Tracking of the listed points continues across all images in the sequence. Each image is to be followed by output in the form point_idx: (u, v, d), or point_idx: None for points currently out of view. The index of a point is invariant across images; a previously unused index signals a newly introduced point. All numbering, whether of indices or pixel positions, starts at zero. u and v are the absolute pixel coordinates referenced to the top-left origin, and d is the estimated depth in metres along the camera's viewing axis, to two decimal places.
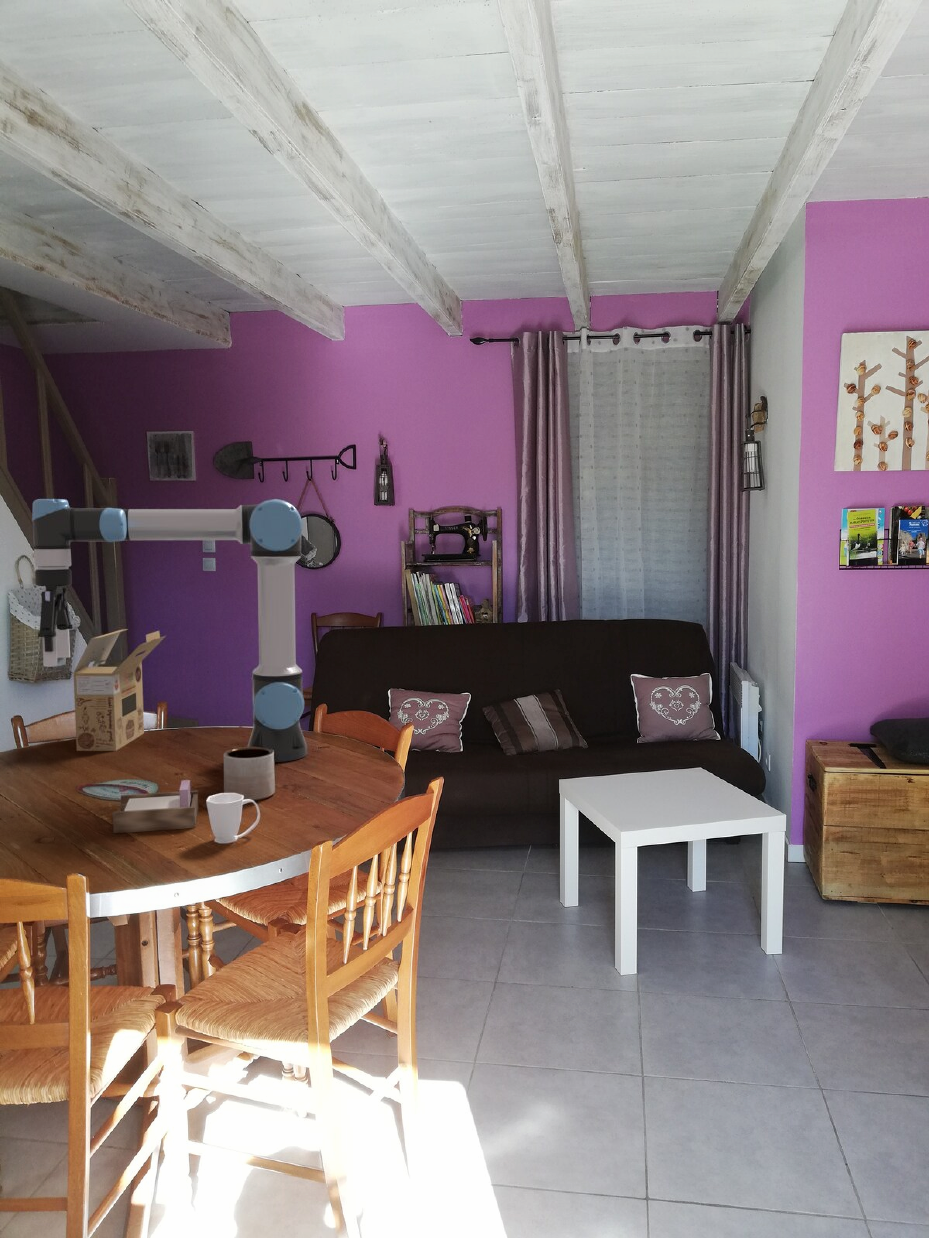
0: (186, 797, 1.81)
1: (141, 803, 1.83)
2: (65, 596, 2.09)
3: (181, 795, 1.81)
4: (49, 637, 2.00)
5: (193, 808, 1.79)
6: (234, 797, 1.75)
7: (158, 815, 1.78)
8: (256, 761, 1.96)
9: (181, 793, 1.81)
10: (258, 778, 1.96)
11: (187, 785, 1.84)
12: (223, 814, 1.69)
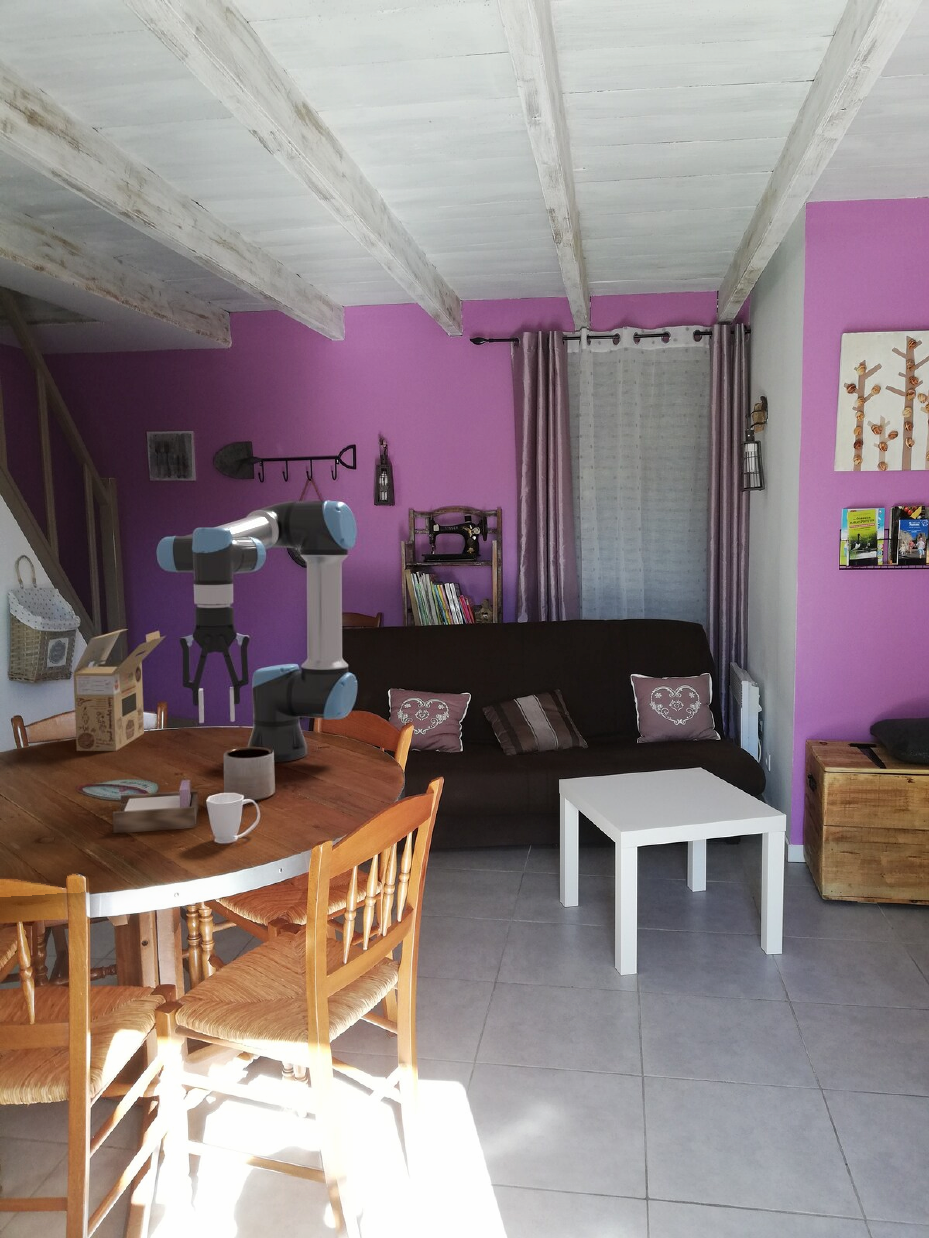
0: (186, 797, 1.81)
1: (141, 803, 1.83)
2: (224, 640, 1.81)
3: (181, 795, 1.81)
4: (192, 689, 1.82)
5: (193, 808, 1.79)
6: (234, 797, 1.75)
7: (158, 815, 1.78)
8: (256, 761, 1.96)
9: (181, 793, 1.81)
10: (258, 778, 1.96)
11: (187, 785, 1.84)
12: (223, 814, 1.69)
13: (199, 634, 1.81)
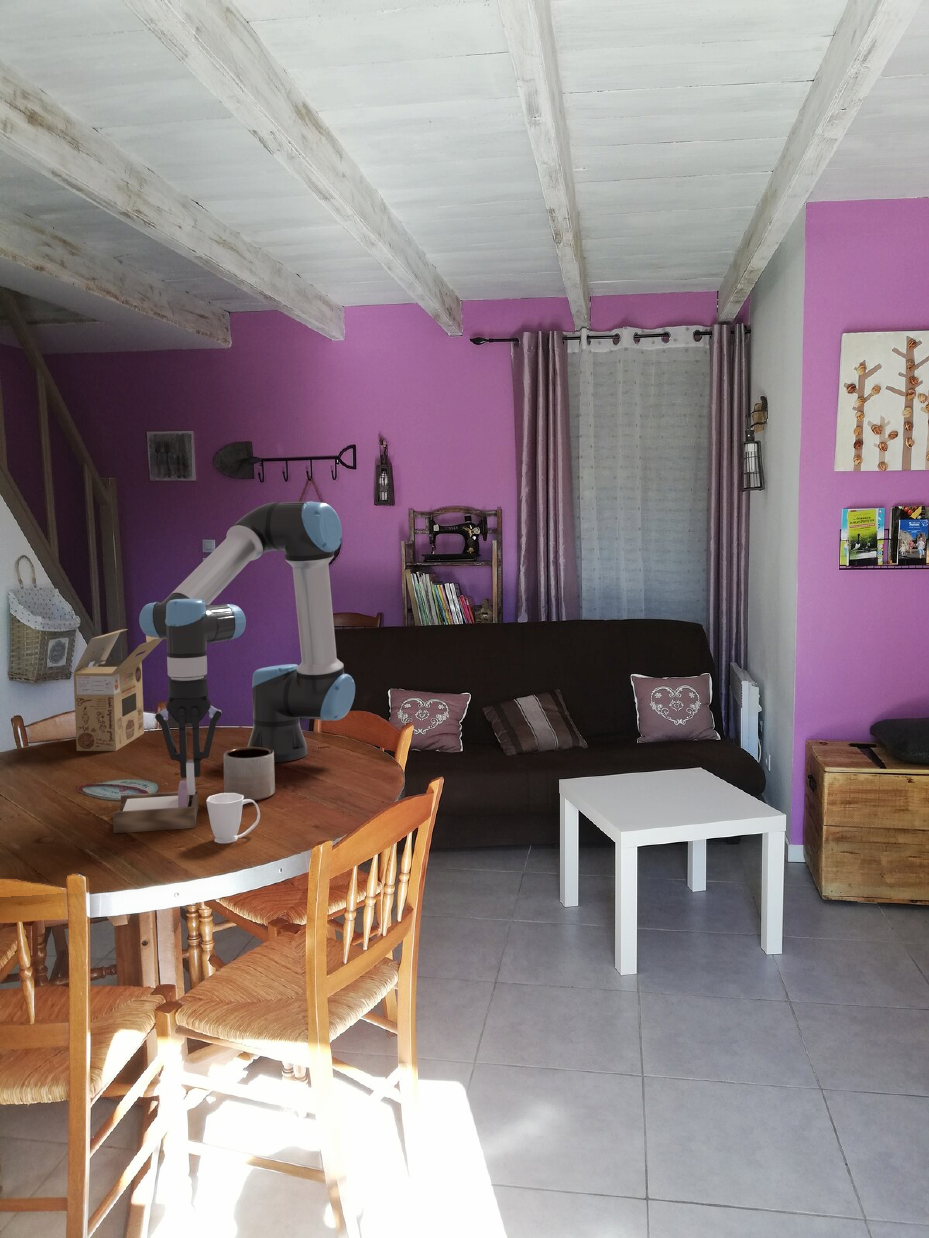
0: (184, 797, 1.81)
1: (139, 803, 1.83)
2: (197, 713, 1.81)
3: (179, 795, 1.81)
4: None
5: (193, 808, 1.79)
6: (234, 797, 1.75)
7: (158, 815, 1.78)
8: (256, 761, 1.96)
9: (179, 793, 1.81)
10: (258, 778, 1.96)
11: (185, 785, 1.84)
12: (223, 814, 1.69)
13: (172, 706, 1.81)
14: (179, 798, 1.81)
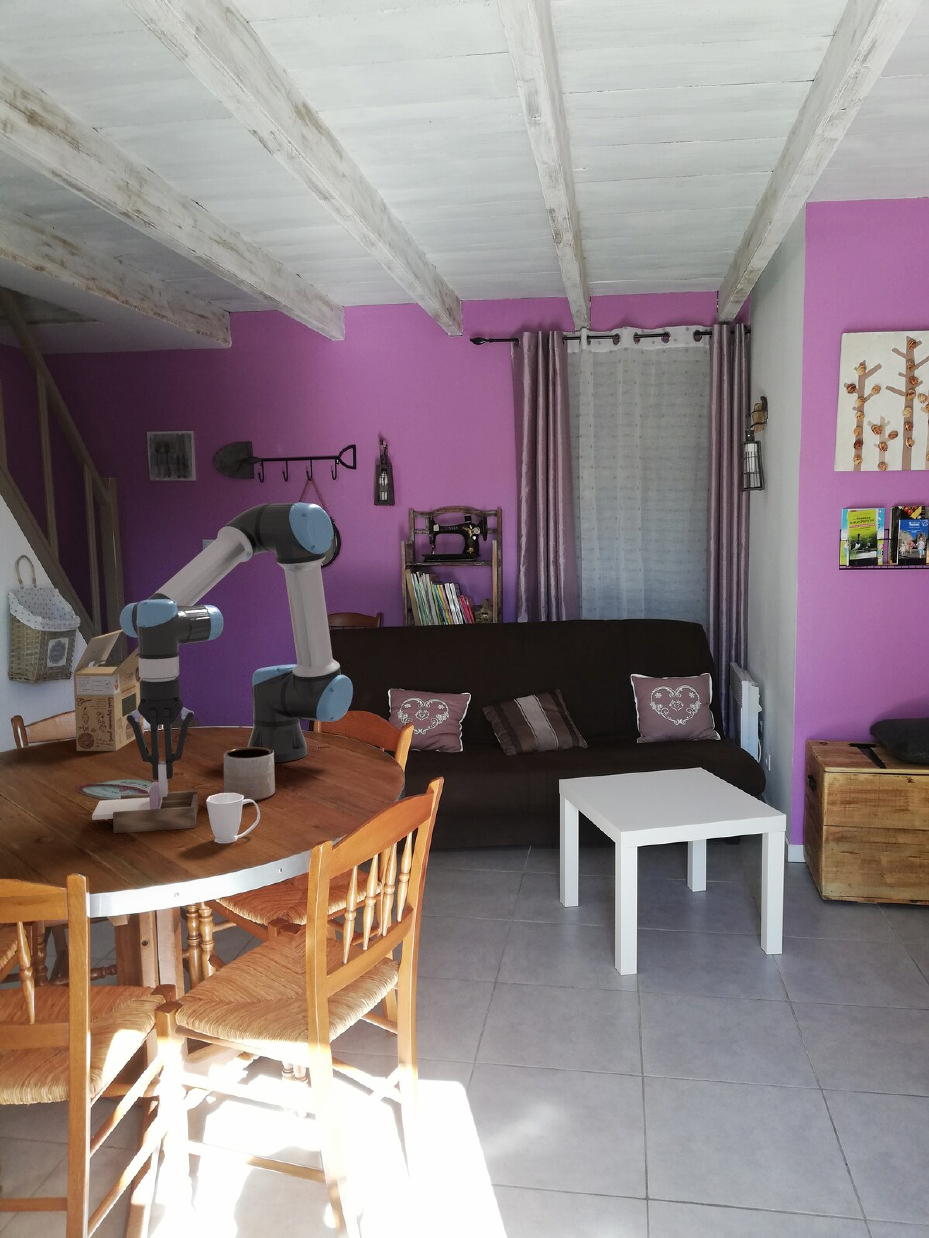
0: (156, 799, 1.80)
1: (111, 805, 1.82)
2: (169, 714, 1.80)
3: (151, 797, 1.79)
4: None
5: (193, 808, 1.79)
6: (234, 797, 1.75)
7: (158, 815, 1.78)
8: (256, 761, 1.96)
9: (151, 795, 1.79)
10: (258, 778, 1.96)
11: (158, 787, 1.82)
12: (223, 814, 1.69)
13: (144, 707, 1.80)
14: (151, 800, 1.79)
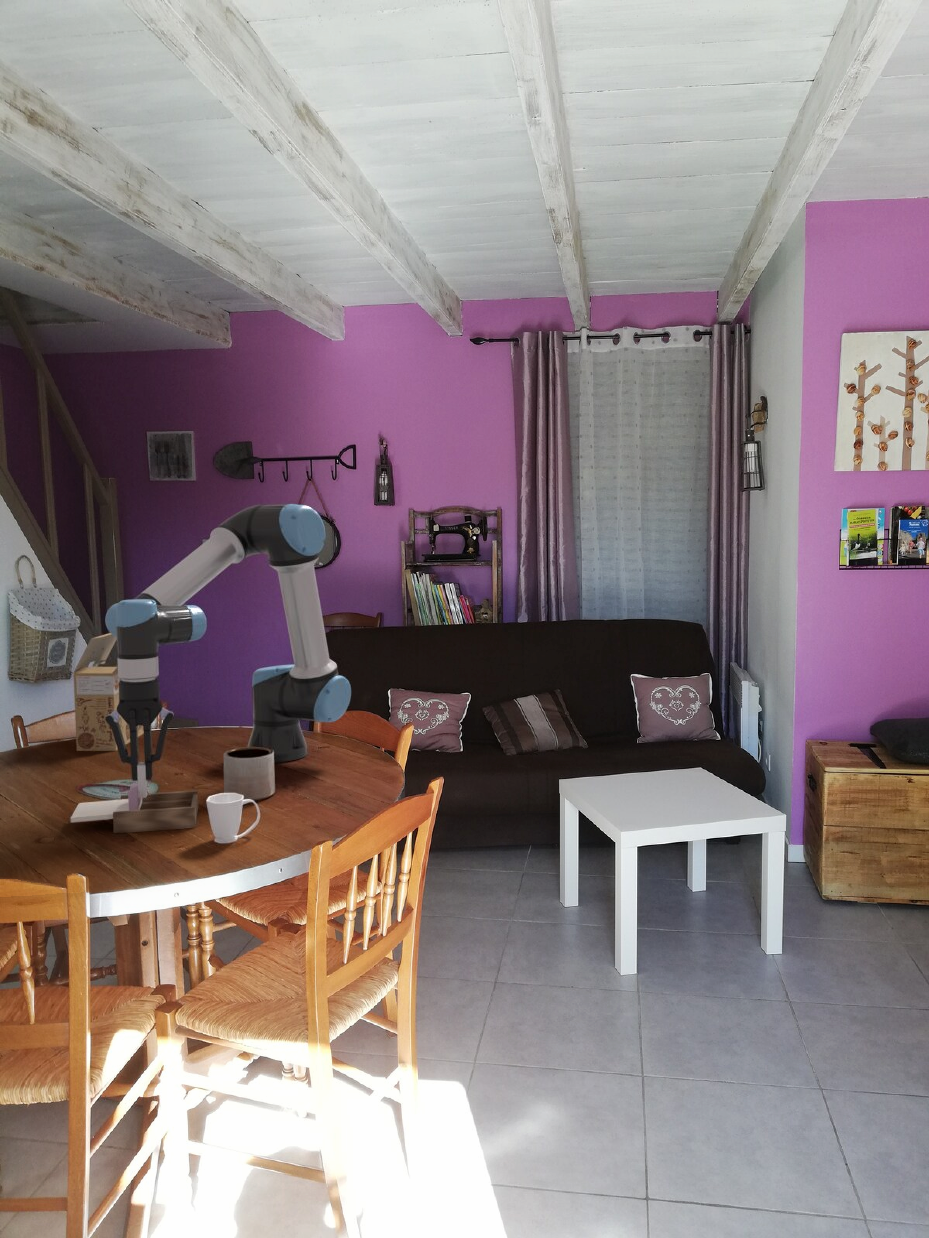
0: (135, 800, 1.79)
1: (90, 807, 1.81)
2: (148, 715, 1.79)
3: (130, 798, 1.78)
4: None
5: (193, 808, 1.79)
6: (234, 797, 1.75)
7: (158, 815, 1.78)
8: (256, 761, 1.96)
9: (130, 796, 1.78)
10: (258, 778, 1.96)
11: (136, 788, 1.81)
12: (223, 814, 1.69)
13: (123, 708, 1.79)
14: (129, 801, 1.78)
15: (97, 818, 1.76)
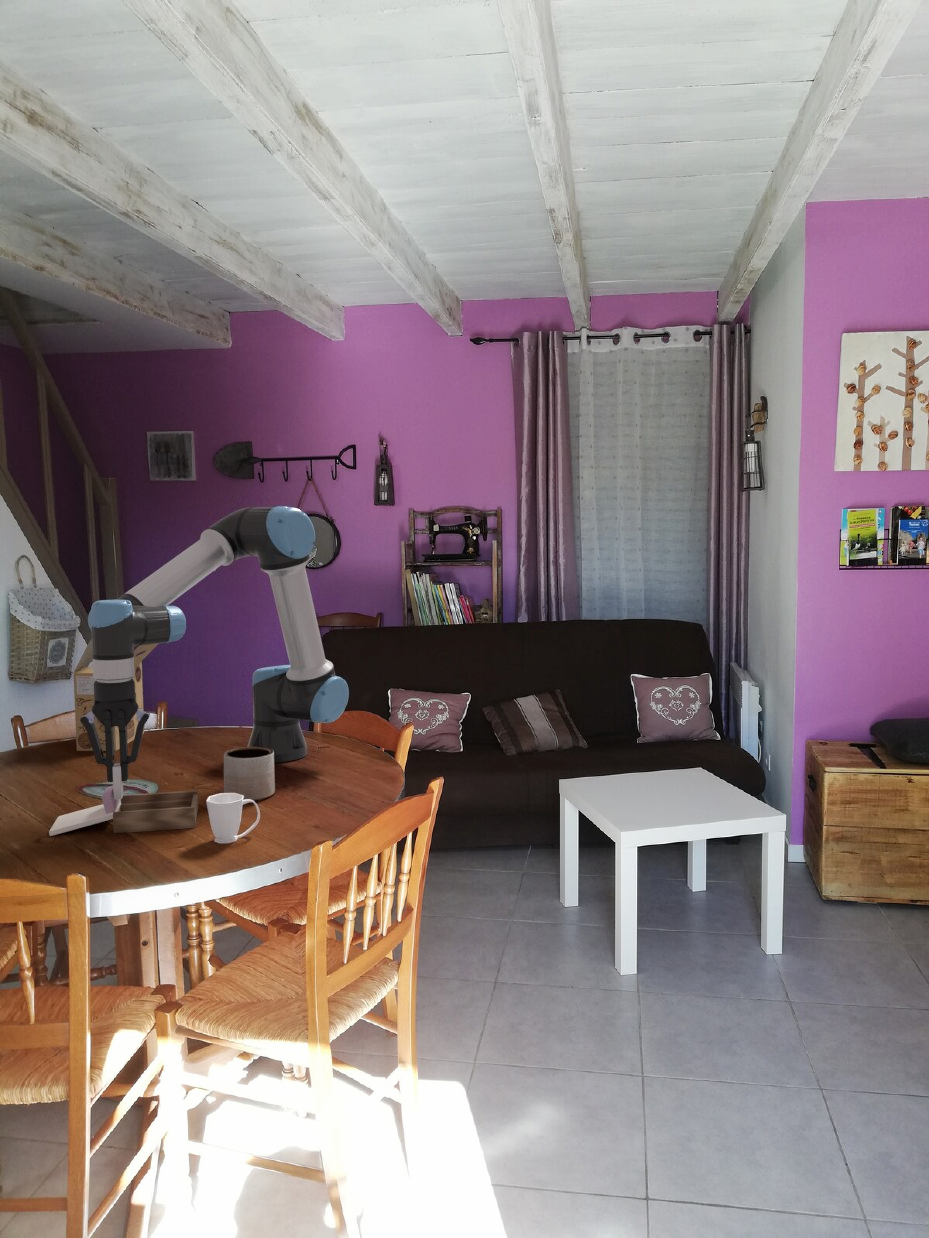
0: (110, 803, 1.78)
1: (69, 818, 1.80)
2: (123, 716, 1.78)
3: (104, 802, 1.77)
4: None
5: (193, 808, 1.79)
6: (234, 797, 1.75)
7: (158, 815, 1.78)
8: (256, 761, 1.96)
9: (104, 800, 1.77)
10: (258, 778, 1.96)
11: (110, 791, 1.80)
12: (223, 814, 1.69)
13: (98, 709, 1.78)
14: (105, 805, 1.77)
15: (75, 827, 1.75)
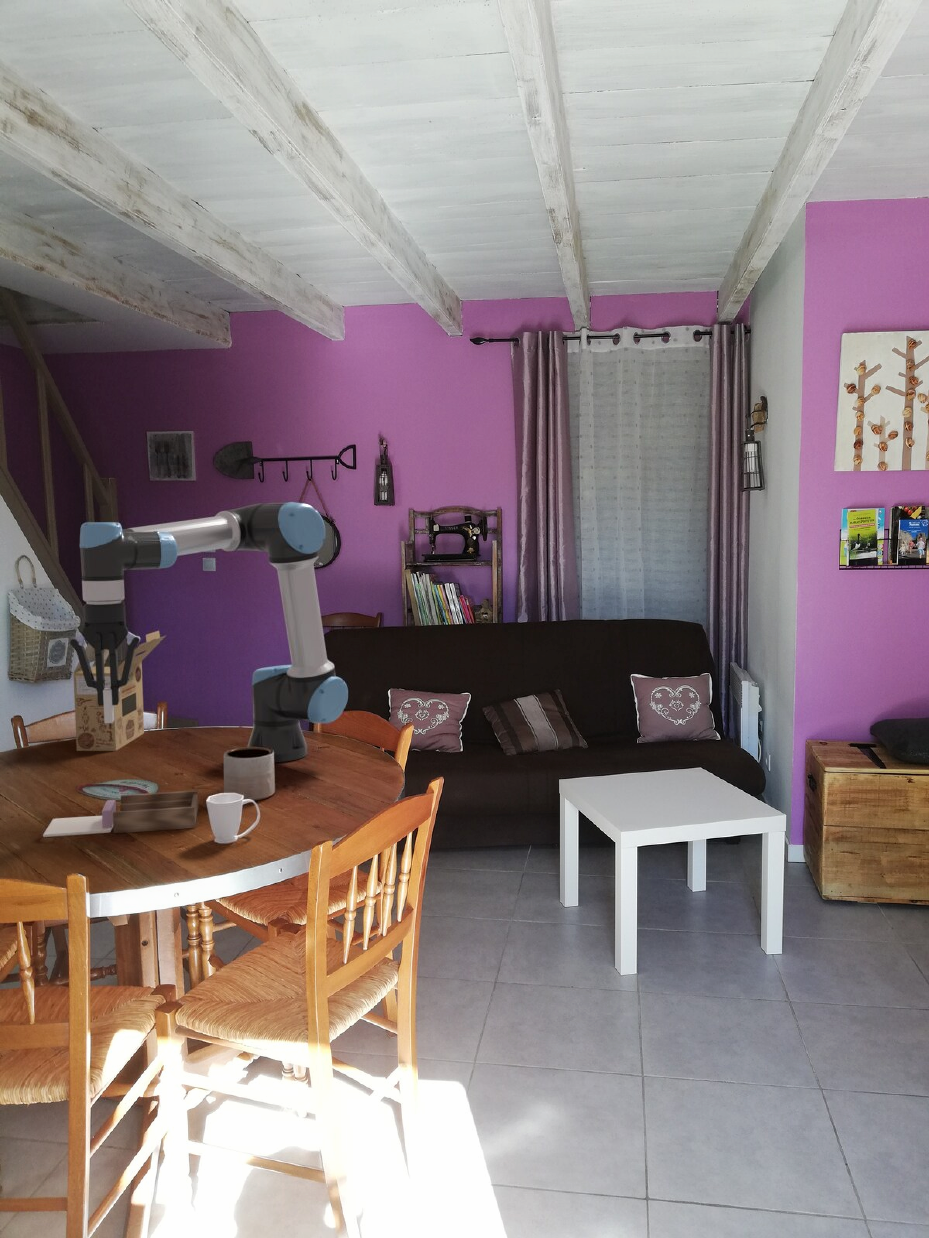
0: (109, 818, 1.78)
1: (64, 824, 1.80)
2: (113, 638, 1.77)
3: (104, 816, 1.77)
4: None
5: (193, 808, 1.79)
6: (234, 797, 1.75)
7: (158, 815, 1.78)
8: (256, 761, 1.96)
9: (104, 814, 1.77)
10: (258, 778, 1.96)
11: (111, 805, 1.80)
12: (223, 814, 1.69)
13: (88, 631, 1.77)
14: (103, 819, 1.78)
15: None
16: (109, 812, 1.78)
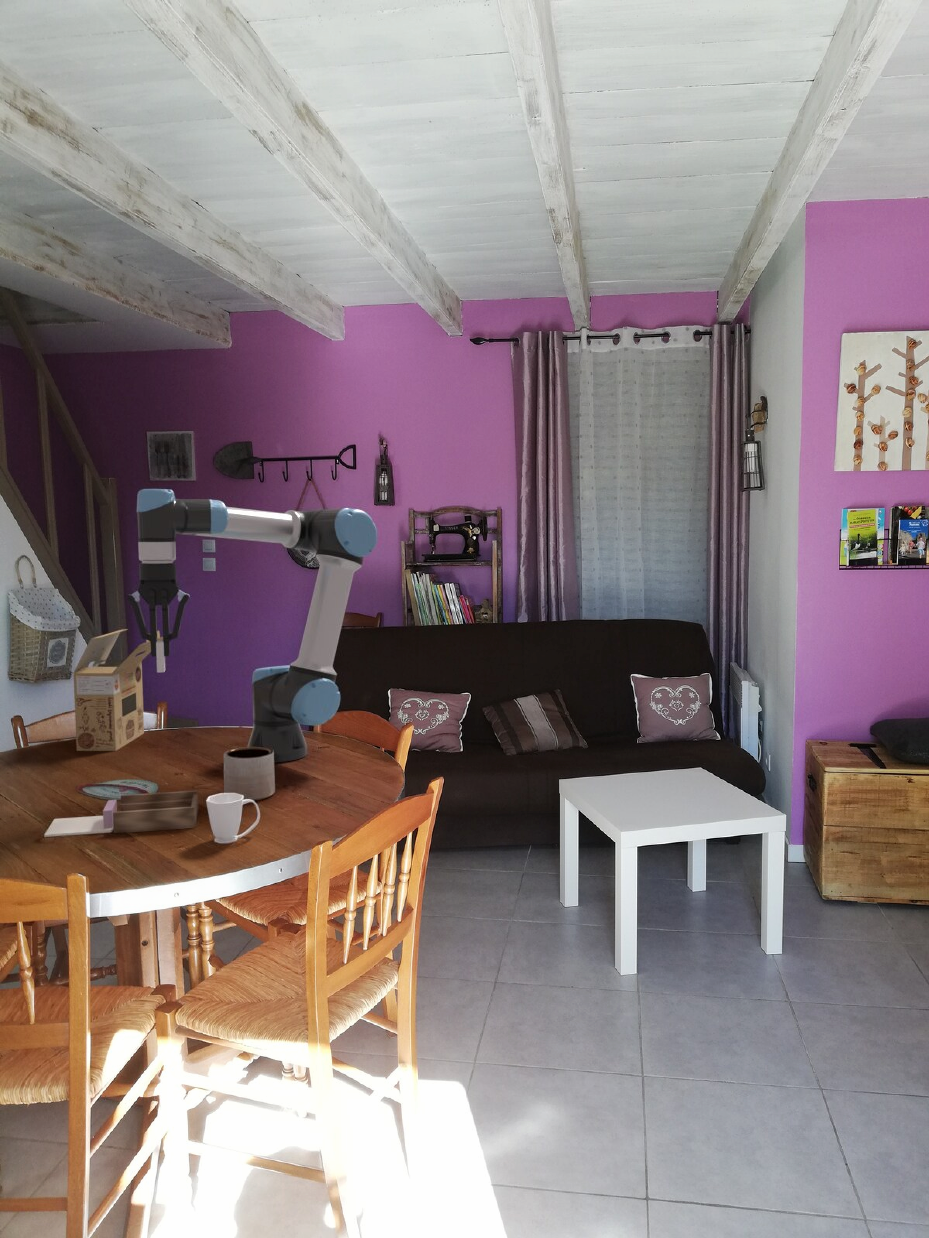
0: (110, 818, 1.78)
1: (65, 824, 1.80)
2: (166, 595, 1.95)
3: (105, 816, 1.78)
4: (150, 641, 1.97)
5: (193, 808, 1.79)
6: (234, 797, 1.75)
7: (158, 815, 1.78)
8: (256, 761, 1.96)
9: (105, 814, 1.77)
10: (258, 778, 1.96)
11: (112, 805, 1.80)
12: (223, 814, 1.69)
13: (143, 588, 1.95)
14: (104, 819, 1.78)
15: None
16: (110, 812, 1.78)
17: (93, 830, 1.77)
